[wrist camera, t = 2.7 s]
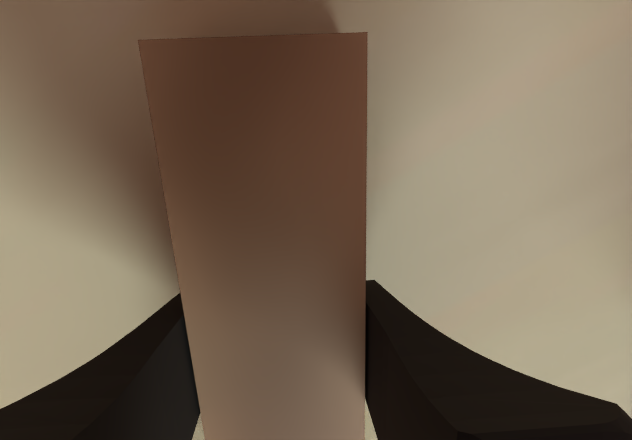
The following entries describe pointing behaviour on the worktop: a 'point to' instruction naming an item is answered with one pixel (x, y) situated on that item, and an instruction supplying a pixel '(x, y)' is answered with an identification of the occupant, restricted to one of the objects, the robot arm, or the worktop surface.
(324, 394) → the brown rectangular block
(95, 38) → the worktop surface
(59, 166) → the worktop surface
